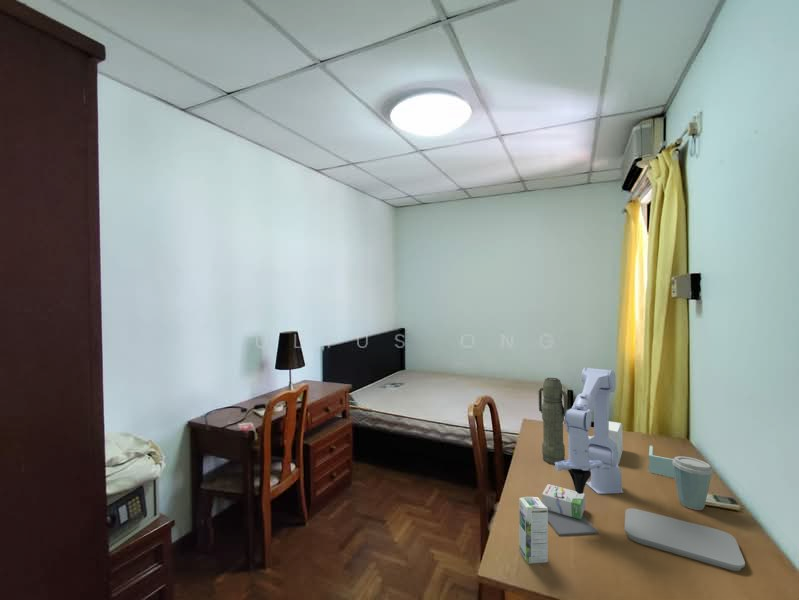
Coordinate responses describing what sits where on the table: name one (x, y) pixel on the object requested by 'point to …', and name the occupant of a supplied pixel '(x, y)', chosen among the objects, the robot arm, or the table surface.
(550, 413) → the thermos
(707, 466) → the disposable coffee cup
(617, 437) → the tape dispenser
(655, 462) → the l-shaped corner panel
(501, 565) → the table surface
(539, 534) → the syrup box
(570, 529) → the mat
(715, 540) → the tablet
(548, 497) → the ink box
